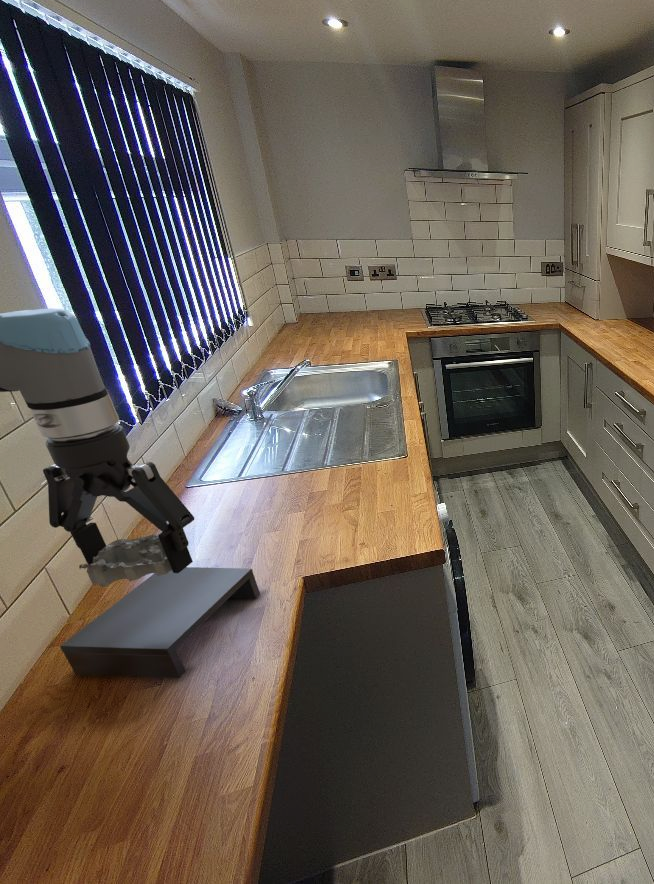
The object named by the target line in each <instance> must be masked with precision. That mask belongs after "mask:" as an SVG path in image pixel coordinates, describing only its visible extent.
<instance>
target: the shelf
mask: <svg viewBox="0 0 654 884" xmlns="http://www.w3.org/2000/svg"><path fill="white" fill-rule="evenodd" d="M260 595H261V592H260V589H259V586H258V583H257V579H256V577H255V575H254V572H253V569H252V568H245V567H244V568H243V567H242V568H240V567H201V566H200V567H199V566H198V567H195V566H193V567H192V566H187V567H186V568H184V569H183V570H182V571H181V572H179V573H173V571H172V570H171V571H169V572H168V573H167V574H165V575H161V576H158V575H157V573H152V574H151V575H150V576H149V577H147V578H146V579H145V580H144V581H142V582H141V583H140V584H138V585H137V586H135V588H133V589H132V590H131V591H129V592H128V593H127V594H125V595H124V596H123V597H122V598H120V599H119V600H118V601H116V602H115V603H114V604H112V605H111V606H110V607H108V608H107V609H106V610H104V611H103V612H102V613H100V614H99V615H98V616H97V617H96V618H94V619H93V620H92V621H90V622H89V623H88V624H87V625H85V626H83V628H81V629H80V630H79V631H77V632H76V633H75V634H73V635H72V636H70V638H68V639H67V640H66V641H64V642H63V643H61V645H59V648H60V649H61V651H62V653H63V655H64V656H65V659H66V661H67V662H68V663H69V666H70V667H71V669H72V671H73V673H74V674H75V675H78V676H79V675H80V676H81V675H83V676H112V677H139V678H140V677H143V678H144V677H145V678H171V679H173V678H174V679H180V678H182V676H183V675H184V674H185V673H186V672H187V670H186V668H185V666H184V664H183V662H182V661H183V660H182V659H181V657H180V654H179V652H178V650H177V649H178V648H179V647H180V646H182V644H183V643H184V642H185V641H186V640H188V639H189V637H191V636H192V635H193V634H194V633H195V632H196V631H197V630H198V629H199V628H200V627H201V626H202V625H203V624H204V623H205V622H206V621H207V620H208V619H209V618H210V617H211V616H212V615H213V614H214V613H215V612H216V611H217V610H218V609H219V608H221V606H222V605H224V604H225V603H226V602H227V601H228V599H257V598H258V597H259V596H260Z"/></svg>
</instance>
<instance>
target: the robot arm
mask: <svg viewBox="0 0 654 884" xmlns="http://www.w3.org/2000/svg"><path fill="white" fill-rule="evenodd" d="M7 392H8V393H9V392H10V393H13V392H20V394H21V397H22V398H23V400H24V402H25V404H26V406H27V409H29V410H30V413H31V415H32V417H33V419H34V422H35V424H36V427H37V428H38V430H39V432H40V434H41V437H43V438H46V441H45V444H44V445H45V447H46V448H47V450H48V452H49V455H50V457H51V459H52V461H53V463H54V464H51V465H50V466H48V467H45V468H43V470H42V473H43V475H44V477H45V480H46V482H47V494H48V520H49V525H50V526H51V527H52V528H55V529H57V528H59V527H62V528H63V529H64V530H65V531H66V532H68V533H70V535H71V537H72V539H73V541H74V542H75V545H76V547H77V548H78V549H80V551H81V554H82V555H83V558H84V560H85V561H86V563H88V565H90V564H92V563H93V557H97V555H98V552H99V551H101V550H102V549H103V548H104V547H105V546H107V544H106V542H105V540H104V538H103V535H102V533H101V531H100V528H99V526H98V525H97V522H93V521H92V520H94V518H93V517H92V513H93V510H94V507H95V504H96V501H97V499H98V497H102V496H105V497H109V498H115V499H116V500H117V501H119V502H121V503H122V502H123V503H126V504H127V505H129V506H130V507H131V508H133V509H134V510H135V511H136V512H137V513H139V514H140V515H141V516H142V517H143V518H145V519H146V520H147V521H148V522H150V523H151V524H152V525H153V526H154V527H156V528H157V529H158V530H160V531H161V532H160V533H159V534H157V535H158V537H159V539H160V542H161V544H162V547H163V549H164V551H165V554H166V556H167V559H168V561H169V564H170V566H171V568H172V571H173V573H179V572H181V571H182V570H183V569H184V568H186V567H189V566H190V565H191V564H192V563H193V562H194V561H193V559H192V556H191V553H190V550H189V548H188V546H189V540H188V538H187V535H186V532H185V529H184V528H185V527H186V526H188V525H189V524H191V523H192V522H194V521H195V516H194V514H192V512H191V511H190V510H189V509H188V508H187V506H186V505H185V504H184V503H183V502H182V501H181V499H180V498H179V497H178V496H177V494H176V493H175V492H174V491H173V490H172V489H171V487H170V486H169V485H168V484H167V483H166V482H165V479H163V478H162V477H161V475H160V473H159V471H158V468H157V466H156V464H155V463H153V462H152V461H147V462H145V463H143V464H142V465H141V464H140V465H134V464H133V463H132V462H131V461H130V459H128V453H129V451H130V448H131V446H130V443H129V440H128V438H127V436H126V433H125V431H124V428H123V426H122V425H120V424H118V423H119V421H120V417H119V414H118V413H117V410H116V408H115V405H114V403H113V400H112V398H111V396H110V394H109V392H108V390H107V387H106V386H105V385H104V381H103V379H102V376H101V374H100V371H99V368H98V366H97V362H96V359H95V357H94V353H93V351H92V348H91V343H90V341H89V338H87V337H86V335H85V333H84V331H83V329H82V327H81V325H80V323H79V321H78V319H77V317H76V316H75V314H73V313H72V312H71V311H69V310H67V309H63V308H37V309H24V310H14V311H7V312H2V313H0V393H7ZM131 486H132V488H130V487H131ZM91 521H92V522H91ZM88 522H89V523H88Z"/></svg>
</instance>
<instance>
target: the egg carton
mask: <svg viewBox="0 0 654 884" xmlns="http://www.w3.org/2000/svg"><path fill="white" fill-rule="evenodd" d="M158 535H159V534H157V533H152V534H150V535H147V536H140V537H137V538H119V539H115V540H114V541H112V542H110V543H108V544H106V546H105V547H104V548H103V549H102V550H101V551H99V552H98V555H97V557H93V563H92V564H90V565H88V563H87V562H86V563H81V564H79V566H78V568H79V569H80V570H81V569H84V570H85V569H86V573H87V576H88V578H89V580H90V582H91V584H92V585H93V586H96V585H97V586H98V587H99V588H105V587H109V586H111V584H113V583H115V582H117V581H121V580H127V581H128V582H133V581H138V580H140V579H142V578H143V577H144V576H146V575H152V574H154V573H157V575H158V576H161V575H165V574H167V573H168V572H169V571H171V570H172V568H171V566H170V564H169V561H168V559H167V556H166V554H165V551H164V549H163V547H162V544H161V542H160V539H159V537H158Z"/></svg>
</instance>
